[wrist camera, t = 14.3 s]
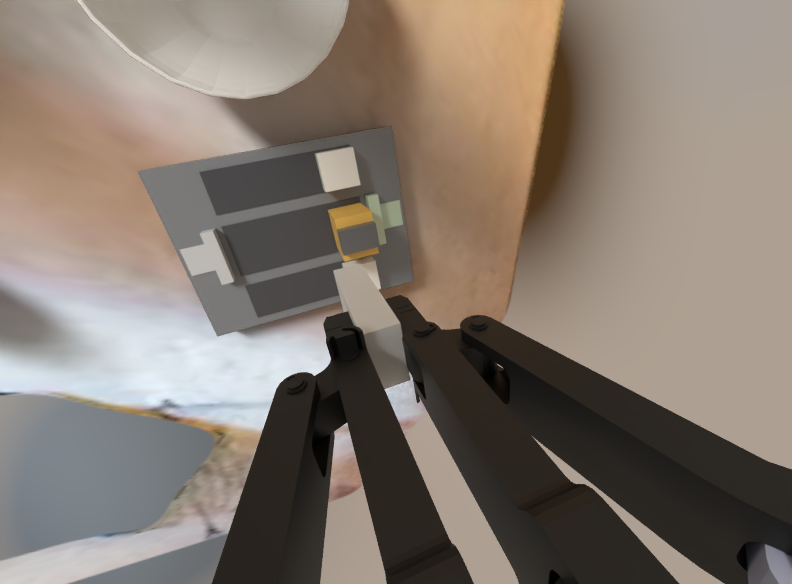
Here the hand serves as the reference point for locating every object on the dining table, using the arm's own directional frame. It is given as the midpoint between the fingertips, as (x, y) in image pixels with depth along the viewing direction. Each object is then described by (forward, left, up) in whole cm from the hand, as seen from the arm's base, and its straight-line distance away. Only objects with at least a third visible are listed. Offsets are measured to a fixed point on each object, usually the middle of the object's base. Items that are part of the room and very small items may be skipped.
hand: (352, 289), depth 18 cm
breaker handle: (+2, 0, -14) cm, 14 cm away
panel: (-2, 0, -17) cm, 17 cm away
